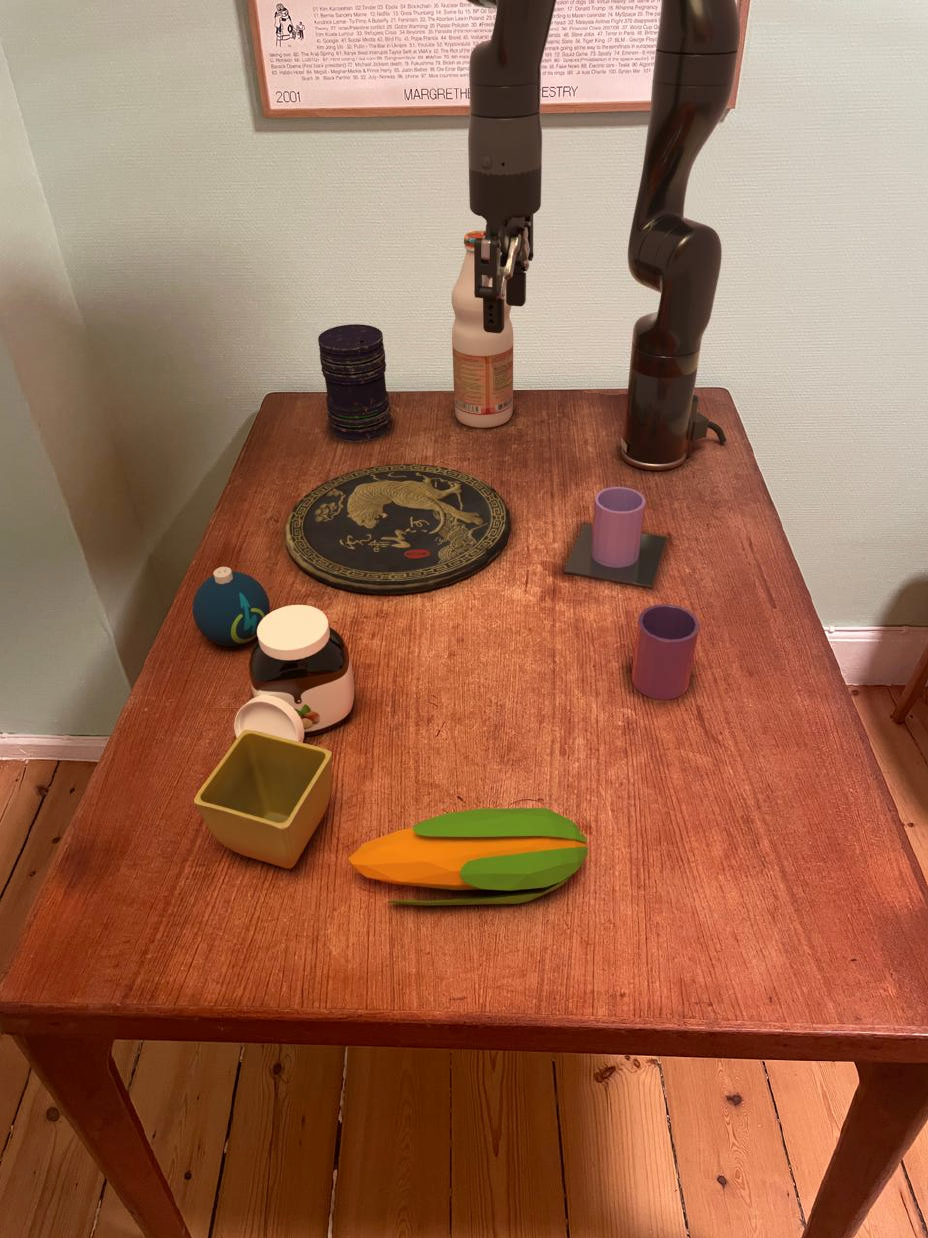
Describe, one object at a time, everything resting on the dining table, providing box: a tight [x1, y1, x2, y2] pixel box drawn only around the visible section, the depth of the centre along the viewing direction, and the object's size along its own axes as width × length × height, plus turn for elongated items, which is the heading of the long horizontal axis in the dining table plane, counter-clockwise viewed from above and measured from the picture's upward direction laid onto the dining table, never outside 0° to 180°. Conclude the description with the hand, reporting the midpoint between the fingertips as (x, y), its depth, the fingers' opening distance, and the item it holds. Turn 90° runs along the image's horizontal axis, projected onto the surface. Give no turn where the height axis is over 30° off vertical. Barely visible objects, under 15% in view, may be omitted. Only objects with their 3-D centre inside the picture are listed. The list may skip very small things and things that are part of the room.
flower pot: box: [193, 730, 333, 870], centre depth 78 cm, size 9×9×9 cm
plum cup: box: [631, 603, 700, 701], centre depth 93 cm, size 6×6×8 cm
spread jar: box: [233, 604, 355, 743], centre depth 88 cm, size 12×11×12 cm
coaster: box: [563, 523, 668, 590], centre depth 113 cm, size 11×11×1 cm
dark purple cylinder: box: [317, 323, 392, 443], centre depth 138 cm, size 10×10×15 cm
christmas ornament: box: [191, 566, 271, 647], centre depth 100 cm, size 8×8×10 cm
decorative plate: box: [284, 463, 511, 595], centre depth 119 cm, size 30×2×30 cm
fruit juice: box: [451, 229, 515, 429], centre depth 136 cm, size 9×9×28 cm
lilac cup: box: [591, 486, 647, 568], centre depth 110 cm, size 6×6×8 cm
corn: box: [347, 807, 589, 906], centre depth 74 cm, size 7×8×20 cm
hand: (505, 317), depth 102 cm, fingers open, 8 cm apart
